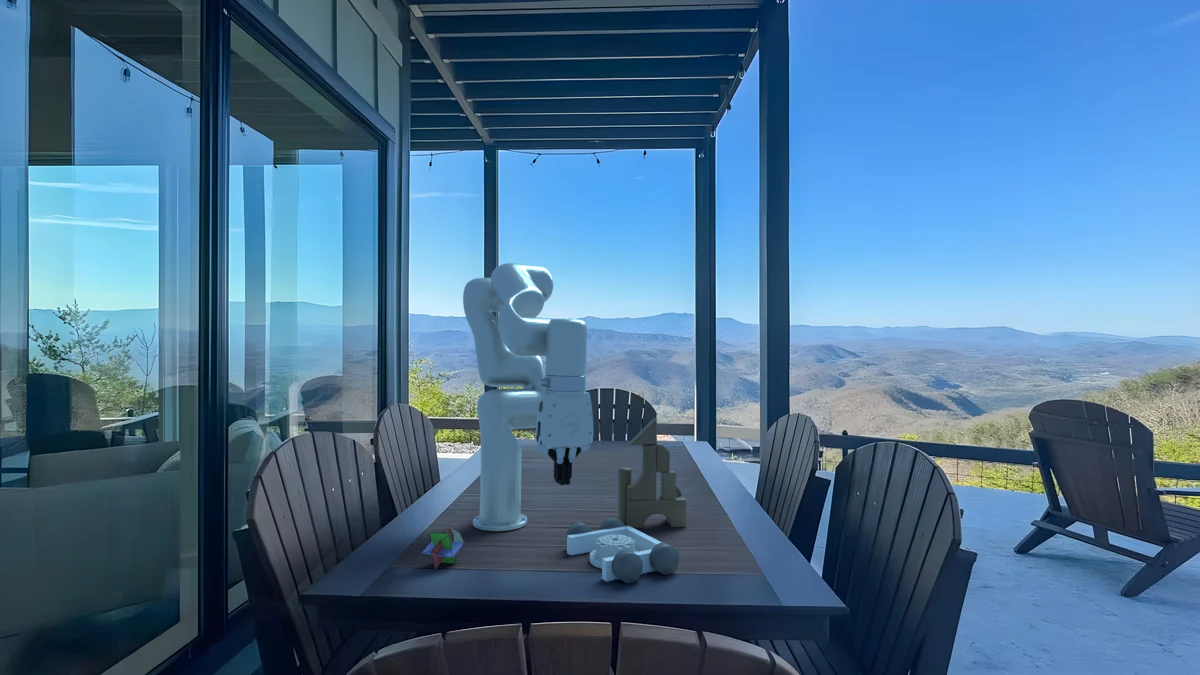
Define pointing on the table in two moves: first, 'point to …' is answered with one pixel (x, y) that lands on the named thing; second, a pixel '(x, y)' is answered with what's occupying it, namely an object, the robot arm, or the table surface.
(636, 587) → the table surface
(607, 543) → the mechanical component
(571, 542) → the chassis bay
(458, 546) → the geometric puzzle
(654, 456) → the wooden toy
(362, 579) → the table surface
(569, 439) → the robot arm
